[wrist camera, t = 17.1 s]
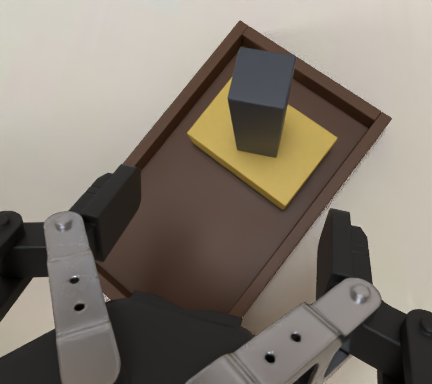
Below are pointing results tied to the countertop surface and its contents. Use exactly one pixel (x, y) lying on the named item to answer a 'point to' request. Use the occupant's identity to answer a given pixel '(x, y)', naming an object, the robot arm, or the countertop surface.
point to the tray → (227, 194)
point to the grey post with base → (262, 128)
